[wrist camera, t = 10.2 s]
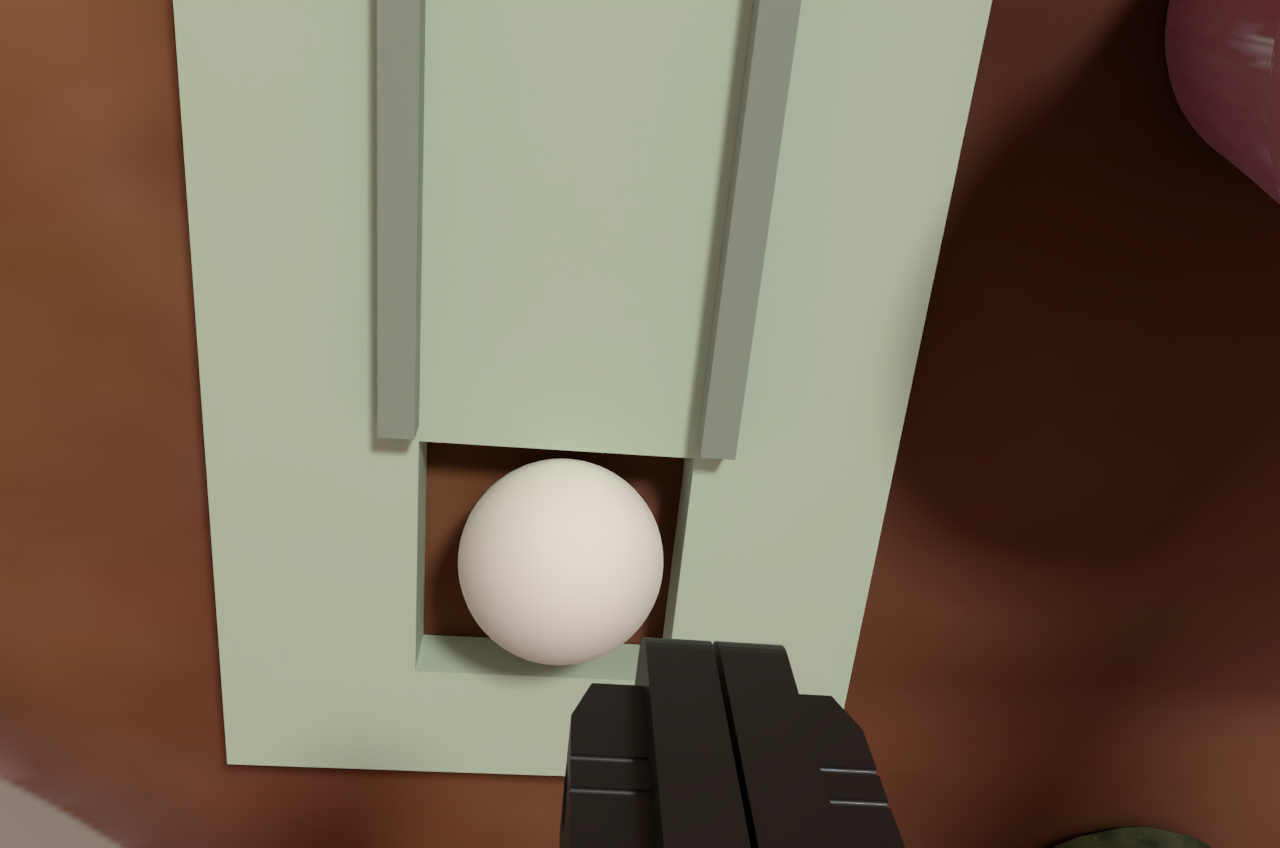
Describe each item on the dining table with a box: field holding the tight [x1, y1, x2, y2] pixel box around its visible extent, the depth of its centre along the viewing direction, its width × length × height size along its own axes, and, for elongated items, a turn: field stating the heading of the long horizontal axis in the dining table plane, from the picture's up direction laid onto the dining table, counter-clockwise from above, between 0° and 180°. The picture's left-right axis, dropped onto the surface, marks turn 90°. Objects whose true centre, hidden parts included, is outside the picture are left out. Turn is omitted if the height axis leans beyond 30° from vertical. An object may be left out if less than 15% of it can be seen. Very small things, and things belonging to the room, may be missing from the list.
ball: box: [458, 458, 664, 666], centre depth 31 cm, size 6×6×6 cm
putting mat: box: [173, 0, 992, 776], centre depth 30 cm, size 32×20×3 cm, turn 175°
